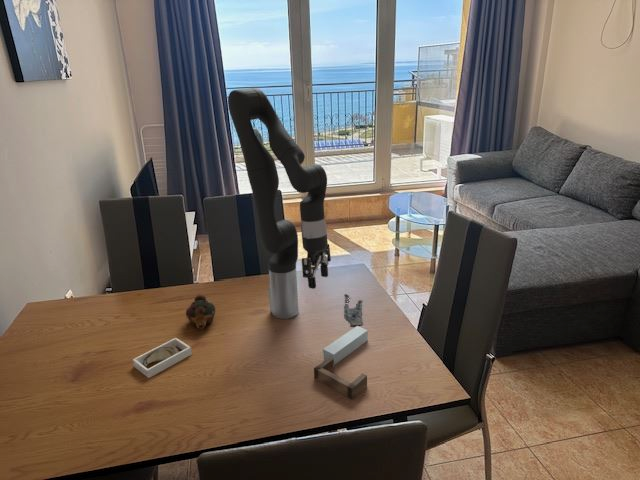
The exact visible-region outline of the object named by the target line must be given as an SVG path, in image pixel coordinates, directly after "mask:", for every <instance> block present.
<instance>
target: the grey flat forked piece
mask: <svg viewBox="0 0 640 480" xmlns="http://www.w3.org/2000/svg"><path fill="white" fill-rule="evenodd" d="M349 296H350V295H349V294H346V293H345V294H344V305H343V306H344V309H343V313H344V314H343V318H344V320H345V321H346V322H348V324H349V327H352V326H359V325H360V326H361V325H362V326H363V325H364V323H363V317H362V314H363V312H362V306H363V303H362V300H361V299H358V301H357V303H355V307H350V306H349V304H350V303H351V302H350V301H349V299H350V300H351V297H349ZM348 298H349V299H348ZM347 301H348V302H347ZM349 302H350V303H349ZM345 303H348V304H345Z"/></svg>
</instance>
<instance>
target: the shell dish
mask: <svg viewBox="0 0 640 480" xmlns="http://www.w3.org/2000/svg"><path fill="white" fill-rule="evenodd" d="M171 345H173V346H174V347H177V348H179V349H180V350H181V351H180V350H179V353H177V354H175V355H173V356H171V357H169V358H167V359H166V360H161V361H160V362H158V363H156V364H155V365H153V366H151V367H149V368H147V366H144V360H145V359H146V358H147V356H148V355H150V354H151V353H152V352H154V351H155V350H157V349H159V348H161V347H164V346H171ZM192 354H193V352H192V347H191V346H190V345H188V344H186V343H185V342H184V341H182V340H181V339H178V337H174V338H172V339H170V340H168V341H166V342H164V343H162V344H161V345H158V346H157V347H155V348H153V349H150V350H148V351H147V352H145V353H142V354H141V355H139V356H136V357H135V358H133V359H132V363H133V368H135V369H137V370H138V371H139V372H140V373H141V374H142V375H144V376H145V377H147V379H149V378H152V377H154V376H155V375H157V374H160V373H161V372H163V371H164V370H166V369H168V368H169V367H172V366H174V365H175V364H177V363H179V362H181V361H182V360H185V359H186V358H187V357H190V356H192Z"/></svg>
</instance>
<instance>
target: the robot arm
mask: <svg viewBox="0 0 640 480" xmlns="http://www.w3.org/2000/svg"><path fill="white" fill-rule="evenodd" d="M227 105H228V110H229V114H230V117H231V120H232V123H233V126H234V130H235V132H236V135H237V137H238V142H239V145H240V147H241V152H242V155H243V161H244V164H245V168H246V169H245V170H246V173H247V178H248V182H249V184H250V188H251V192H252V196H253V200H254V206H255V210H256V216H257V223H258V230H259V236H260V241H261V244H262V246H263V248H264V249H265V250H266V251H267V252H268V253H269V254H273V255H272V256H271V257H270V258H269V260H268V262H267V266H268V277H269V287H267V288H268V289H267V290H268V299H269V311H270V313H271V314H272V316H273V317H275V318H277V319H279V320H280V319H284V320H286V319H292V318H294V317H296V316H297V315H298V314H299V296H298V295H299V293H298V277H297V274H298V273H297V262H298V260H299V259H298V257H299V238H298V231H297V228H296V226H295V224H294V223H293V222H292V221H290V220H288V219H282V220H278V221H277V219H276V213H275V211H276V210H275V206H276V199H277V194H278V192H279V191H278V190H279V185H280V184H279V183H280V178H279V175H278V169H277V165H276V161H275V158H274V157H273V156H272V154H271V152H270V151H272V153H273V154H274V156H275V157H276V158H277V159H278V161H279V162H280V164H281V165H282V166H283V168H284V170H285V173H286V176H287V178H288V180H289V183H290V185H291V187H292V188H293V189H294V190H295V191H297V192H298V193H301V194H305V193H307V195H306V197H305V198H303V199H302V200H301V201H300V202H299V213H300V229H301V240H302V249H303V250H304V251H306V252H307V253H306V254H307V255H306V257H302V258H301V267H302V268H301V270H302V277H303V278H304V279H305V278H306V279H307V284H308V288H309V289H316V287H317V284H316V282H317V281H316V272H317V271H318V270H319V267H320V274H321V275H320V276H321V277H323V278H328V276H329V269H328V266H329V262H331V260H332V257H331V250H330V244H329V243H328V233H327V222H326V218H325V217H326V216H325V205H324V204H325V203H324V202H325V199H326V193H327V186H328V175H327V172H326V170H325V169H324V167H322V165H320V164H316V163H315V164H311V165H310V164H309V165H306V166H302V164H303V163H304V161H305V158H306V155H305V153H304V151H303V150H302V149H301V147H299V145H298V144H297V142H296V141H295V140H294V139H293V138H292V137H291V135H290V134H289V132H288V131H287V130H286V128H285V126H284V125H283V122H282V121H281V120H280V117H279V115H278V114H277V112H276V110H275V108H274V107H273V105H272V103H271V102H270V99H269V98H268V97H267V95H266V94H265V93H264V91H263V90H261V89H260V88H257V87H250V88H240V89H233V90H231V91H230V93H229V94H228V98H227ZM253 120H259V121H260V122H261V123H262V124H263V125H264V126H265V128H266V130H267V134H268V135H267V136H268V144H269V147H270V151H269V150H268V148H266V146H265V145H264V144H262V142H261V141H260V140H259V138H258V137H257V135H256V133H255V130H254V128H253V124H252V121H253Z"/></svg>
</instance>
